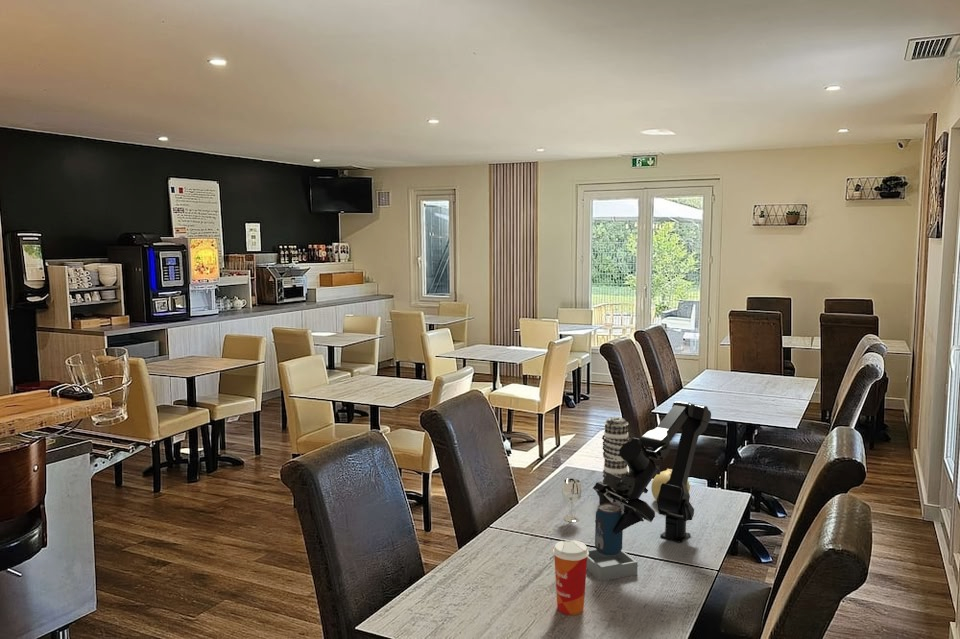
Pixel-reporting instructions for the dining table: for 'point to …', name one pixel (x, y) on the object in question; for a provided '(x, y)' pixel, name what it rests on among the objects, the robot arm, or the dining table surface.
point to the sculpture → (660, 479)
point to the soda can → (608, 529)
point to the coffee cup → (570, 576)
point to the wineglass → (571, 495)
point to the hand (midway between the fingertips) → (605, 528)
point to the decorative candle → (614, 446)
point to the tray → (610, 565)
